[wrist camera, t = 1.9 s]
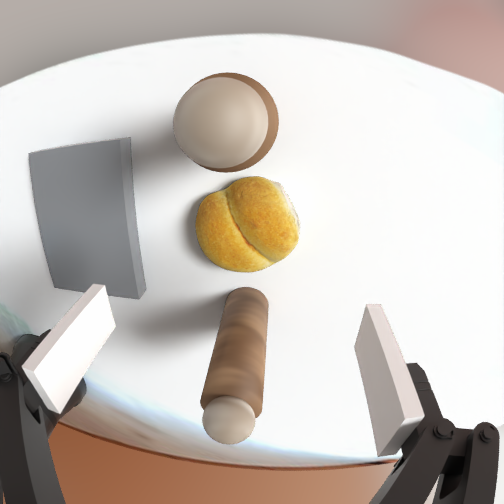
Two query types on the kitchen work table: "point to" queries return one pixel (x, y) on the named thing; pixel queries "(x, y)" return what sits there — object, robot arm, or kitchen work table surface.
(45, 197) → the slate board
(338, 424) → the kitchen work table surface
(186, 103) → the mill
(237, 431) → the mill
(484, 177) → the kitchen work table surface
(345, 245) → the kitchen work table surface
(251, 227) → the bread roll
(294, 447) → the kitchen work table surface
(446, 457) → the robot arm
